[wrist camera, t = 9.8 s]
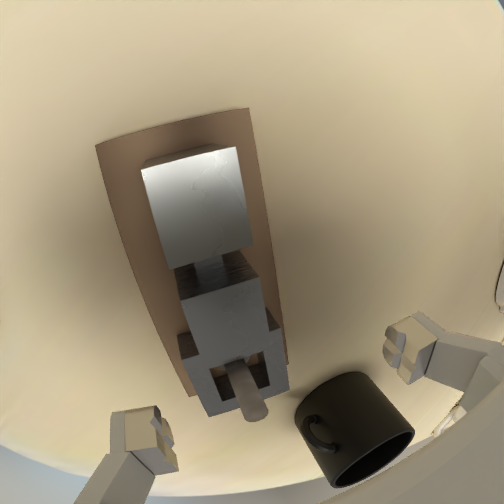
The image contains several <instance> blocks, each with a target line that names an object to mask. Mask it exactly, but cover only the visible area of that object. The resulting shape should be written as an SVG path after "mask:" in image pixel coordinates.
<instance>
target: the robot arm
mask: <svg viewBox="0 0 504 504" xmlns="http://www.w3.org/2000/svg"><path fill="white" fill-rule="evenodd" d="M496 303H497V305H499V306H500V312H501V313H503V314H504V265H503V268H502V272H501V275H500V278H499V282H498V286H497V291H496ZM385 336H386V337H387V340H386V341H385V343H384V344H383V355H384V358H385V360H386V362H387V363H388V364H389V365H390V366H391V367H394V368H397V371H398V375H399V376H400V377H401V378H402V379H403V381H404V382H405V383H406V384H407V385H409V384H411V383H413V382H414V381H416V380H418V379H419V378H421V377H423V376H424V375H425V377H427V378H430V379H432V380H435V381H437V382H440V383H442V384H445V385H447V386H450V387H452V388H455V389H458V390H460V391H463V392H464V394H463V396H462V398H461V400H460V405H461V406H462V408H463V409H464V410H465V411H466V412H467V413H466V414H465V415H464V416H463V417H462V418H460V419H459V420H458V421H457V422H455V423H454V424H453V425H452V426H450V427H449V428H448V429H447V430H445V431H444V432H443V433H441V434H440V435H439V436H437V437H436V438H435V439H433V440H432V441H430V442H429V443H428V444H426V445H425V446H423V447H422V448H420V449H419V450H417V451H416V452H415V453H413V454H411V455H410V456H408V457H407V458H405V459H404V460H402V461H400V462H399V463H397V464H395V465H394V466H392V467H390V468H389V469H387V470H385V471H384V472H382V473H380V474H378V475H376V476H375V477H373V478H371V479H369V480H367V481H365V482H363V483H361V484H359V485H357V486H355V487H353V488H351V489H349V490H347V491H345V492H343V493H340V494H338V495H336V496H334V497H331V498H329V499H327V500H324V501H322V502H320V503H317V504H504V346H503V345H502V344H501V343H499V342H495V341H490V340H485V339H481V338H476V337H472V336H467V335H463V334H458V333H454V332H449V333H447V332H446V331H445V330H444V329H442V328H441V327H440V326H439V325H437V324H436V323H435V322H434V321H433V320H431V319H430V318H429V317H428V316H426V315H425V314H424V313H422V312H417V313H415V314H413V315H411V316H409V317H406V318H404V319H403V320H401V321H399V322H397V323H395V324H393V325H391V326H389V327H388V328H387V329H386V332H385ZM173 445H174V440H173V435H172V432H171V428H170V426H169V424H168V422H167V421H166V419H164V418H162V417H161V412H160V410H159V409H158V407H157V406H149V407H143V408H137V409H130V410H124V411H117V412H112V415H111V419H110V454H106V455H105V457H104V458H103V460H102V461H101V463H100V464H99V466H98V467H97V469H96V470H95V472H94V473H93V475H92V476H91V478H90V479H89V481H88V482H87V484H86V485H85V487H84V488H83V490H82V492H81V493H80V494H79V496H78V497H77V499H76V500H75V502H74V504H144V503H145V500H146V498H147V496H148V493H149V491H150V489H151V486H152V484H153V482H154V479H155V475H161V474H167V473H172V472H177V471H179V468H178V463H177V457H176V454H175V453H174V451H173V450H172V447H173Z"/></svg>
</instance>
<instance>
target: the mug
mask: <svg viewBox="0 0 504 504" xmlns="http://www.w3.org/2000/svg"><path fill="white" fill-rule="evenodd" d="M295 423H296V426H297V428H298V430H299V431H300V433H301V435H302V437H303V438H304V440H305V442H306V444H307V446H308V447H309V449H310V451H311V452H312V454H313V456H314V458H315V459H316V461H317V463H318V465H319V466H320V468H321V470H322V471H323V473H324V475H325V476H326V478H327V480H328V481H329V483H330V485H331V486H332V487H334V488H342V487H347V486H350V485H353V484H355V483H358V482H360V481H362V480H364V479H366V478H368V477H370V476H371V475H373V474H375V473H376V472H378V471H379V470H381V469H382V468H383V467H385V466H386V465H388V464H389V463H390V462H391V461H393V460H394V459H395V458H396V457H397V456H398V455H399V454H401V453H402V452H403V450H404V449H405V448H406V447H407V446H408V445H409V443H410V442H411V441H412V439H413V437H414V435H415V430H414V428H413V427H412V426H411V425H410V424H409V423H408V421H407V420H406V419H405V418H404V417H403V416H402V414H401V413H400V412H399V411H398V410H397V409H396V408H395V406H394V405H393V404H392V403H391V402H390V401H389V400H388V398H387V397H386V396H385V395H384V394H383V393H382V392H381V390H380V389H379V388H378V387H377V386H376V385H375V384H374V382H373V381H372V380H371V379H370V378H369V377H368V376H367V375H365V374H363V373H360V372H351V373H346V374H343V375H340V376H337V377H335V378H333V379H331V380H329V381H327V382H326V383H324V384H323V385H321V386H320V387H318V388H317V389H316V390H314V391H313V392H312V393H311V394H310V395H309V396H308V397H307V398H306V399H305V400H304V401H303V402H302V404H301V405H300V406H299V408H298V410H297V412H296V416H295Z"/></svg>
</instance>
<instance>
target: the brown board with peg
mask: <svg viewBox="0 0 504 504" xmlns="http://www.w3.org/2000/svg"><path fill="white" fill-rule="evenodd" d="M212 143H214V144H222V145H229V146H235V147H236V151H237V156H238V162H239V167H240V173H241V178H242V184H243V189H244V195H245V200H246V206H247V211H248V217H249V222H250V228H251V233H252V239H253V244H254V245H253V246H249V247H246V248H242V249H239V250H240V252H241V253H242V254H243V256H244V257H245V258H246V260H247V261H248V262H249V264H250V265H251V266H252V268H253V269H254V270H255V272H256V273H257V274H258V276H259V277H260V283H261V288H262V294H263V300H264V305H265V307H267V308H268V310H269V311H270V313H271V314H272V316H273V317H274V319H275V320H276V322H277V323H278V324H279V326H280V327H281V332H282V339H283V346H284V353H285V360H286V365H287V364H289V362H288V355H287V347H286V340H285V333H284V326H283V319H282V312H281V305H280V298H279V291H278V284H277V277H276V271H275V264H274V257H273V251H272V244H271V238H270V231H269V225H268V219H267V213H266V206H265V200H264V194H263V188H262V182H261V176H260V170H259V164H258V158H257V152H256V146H255V140H254V135H253V129H252V123H251V117H250V112H249V108H244V109H237V110H232V111H226V112H220V113H215V114H210V115H205V116H200V117H195V118H191V119H186V120H182V121H178V122H173V123H169V124H165V125H161V126H157V127H154V128H150V129H146V130H143V131H139V132H136V133H132V134H129V135H125V136H122V137H119V138H116V139H113V140H110V141H106V142H103V143H100V144H98V145H95V147H96V151H97V155H98V160H99V164H100V168H101V171H102V175H103V179H104V183H105V186H106V190H107V194H108V197H109V200H110V204H111V207H112V211H113V214H114V217H115V220H116V223H117V227H118V230H119V233H120V236H121V239H122V242H123V245H124V248H125V251H126V253H127V256H128V259H129V262H130V265H131V267H132V270H133V273H134V275H135V278H136V281H137V283H138V286H139V288H140V291H141V294H142V296H143V299H144V301H145V304H146V306H147V308H148V311H149V313H150V316H151V318H152V320H153V323H154V325H155V327H156V330H157V332H158V334H159V336H160V339H161V341H162V343H163V345H164V347H165V349H166V352H167V354H168V356H169V358H170V360H171V362H172V364H173V366H174V368H175V370H176V372H177V374H178V376H179V378H180V380H181V382H182V384H183V386H184V388H185V390H186V392H187V394H188V396H189V397H191V396H194V395H197V393H196V391H195V388H194V386H193V384H192V382H191V380H190V378H189V376H188V374H187V372H186V369H185V367H184V365H183V363H182V361H181V356H180V351H179V346H178V340H177V335H179V334H182V333H186V332H189V331H190V328H189V325H188V322H187V320H186V317H185V314H184V311H183V308H182V306H181V303H180V299H179V294H178V289H177V284H176V278H175V273H174V269H170V270H169V267H168V264H167V261H166V257H165V254H164V251H163V248H162V244H161V241H160V238H159V234H158V231H157V227H156V224H155V220H154V217H153V213H152V210H151V206H150V202H149V199H148V195H147V191H146V187H145V183H144V180H143V176H142V172H141V169H142V167H143V164H144V162H145V160H148V159H152V158H155V157H159V156H163V155H167V154H170V153H174V152H178V151H182V150H186V149H190V148H195V147H199V146H203V145H208V144H212ZM257 363H259V362H258V357H257V353H256V354H253V355H251V356H248V357H245V358H242V359H239V360H236V361H233V362H229V363H226V364H223V365H220V366H217V367H214V368H211V370H212V373H213V376H214V378H215V377H218V376H221V375H224V374H228V377H229V380H230V382H231V385H232V388H233V390H234V393H235V395H236V398H237V401H238V403H239V406H240V408H241V411H242V413H243V416H244V418H245V420H246V421H248V422H256V421H259V420H261V419H263V418H264V417H266V416H267V414H268V409H267V407H266V404H265V402H264V400H263V398H262V396H261V394H260V392H259V390H258V388H257V386H256V384H255V381H254V379H253V377H252V375H251V373H250V371H249V368H248V367H249V366H252V365H255V364H257Z"/></svg>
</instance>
